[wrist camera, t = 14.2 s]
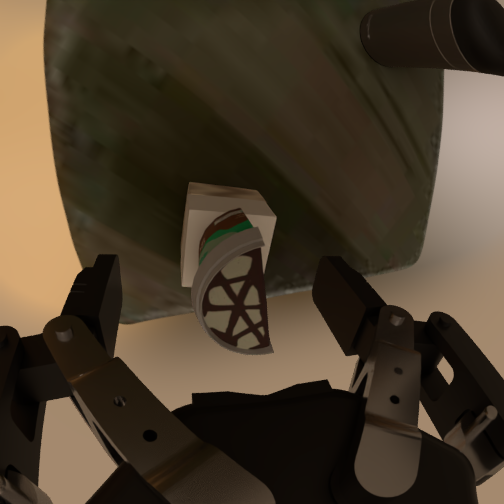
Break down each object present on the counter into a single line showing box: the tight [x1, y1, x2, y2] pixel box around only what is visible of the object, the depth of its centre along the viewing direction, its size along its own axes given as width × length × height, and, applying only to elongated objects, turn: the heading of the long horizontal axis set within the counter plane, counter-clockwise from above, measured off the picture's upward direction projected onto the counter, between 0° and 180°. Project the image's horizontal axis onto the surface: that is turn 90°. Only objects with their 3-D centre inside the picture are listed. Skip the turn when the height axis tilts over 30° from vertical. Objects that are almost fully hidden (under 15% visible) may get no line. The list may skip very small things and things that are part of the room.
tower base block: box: [181, 182, 267, 253], centre depth 40 cm, size 9×9×5 cm
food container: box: [191, 208, 274, 355], centre depth 29 cm, size 12×6×10 cm, turn 6°
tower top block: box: [181, 194, 277, 287], centre depth 35 cm, size 9×9×5 cm
